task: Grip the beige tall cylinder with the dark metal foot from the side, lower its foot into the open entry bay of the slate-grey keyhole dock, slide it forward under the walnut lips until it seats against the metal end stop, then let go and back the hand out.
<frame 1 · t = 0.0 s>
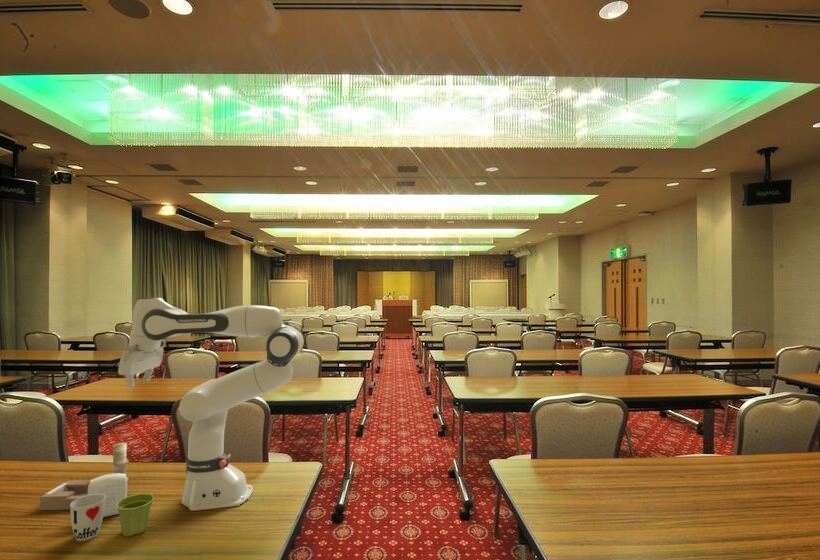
hand: (138, 383, 145), 39 cm above the table, tool pointing down, fingers open, 8 cm apart
beige tall cylinder: (118, 483, 155), on the table
plant pot: (134, 531, 124), on the table
keyhole dock: (79, 500, 142), on the table
cup: (87, 536, 121), on the table
photo printer: (106, 515, 133), on the table
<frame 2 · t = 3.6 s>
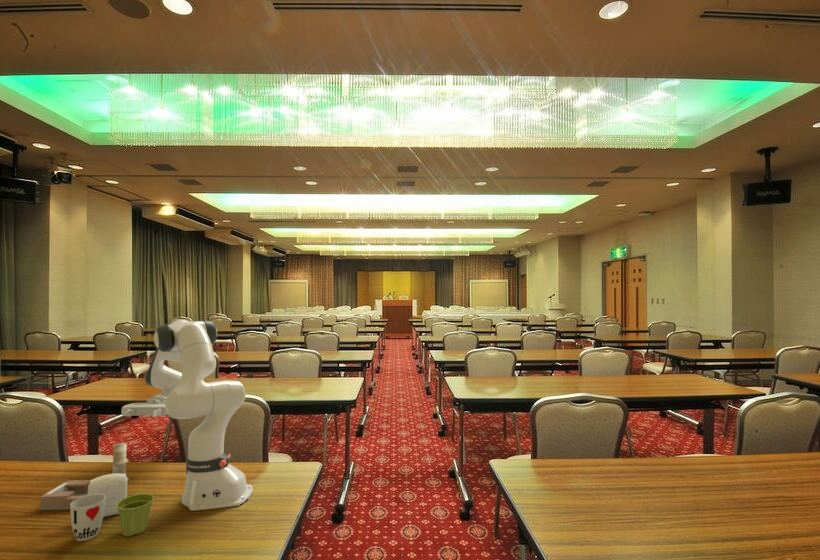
hand: (139, 414, 168), 22 cm above the table, tool horizontal, fingers open, 8 cm apart
nothing on the table moved.
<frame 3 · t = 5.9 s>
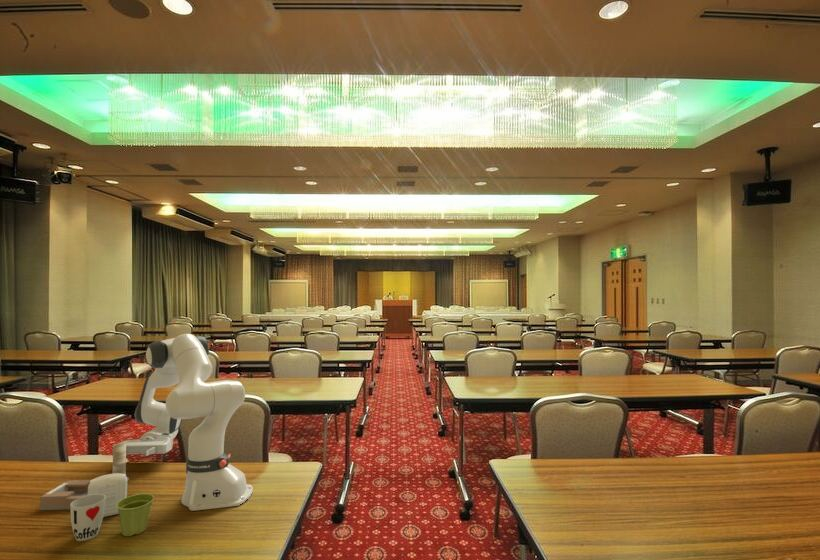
hand: (131, 454, 163), 8 cm above the table, tool horizontal, fingers open, 8 cm apart
nothing on the table moved.
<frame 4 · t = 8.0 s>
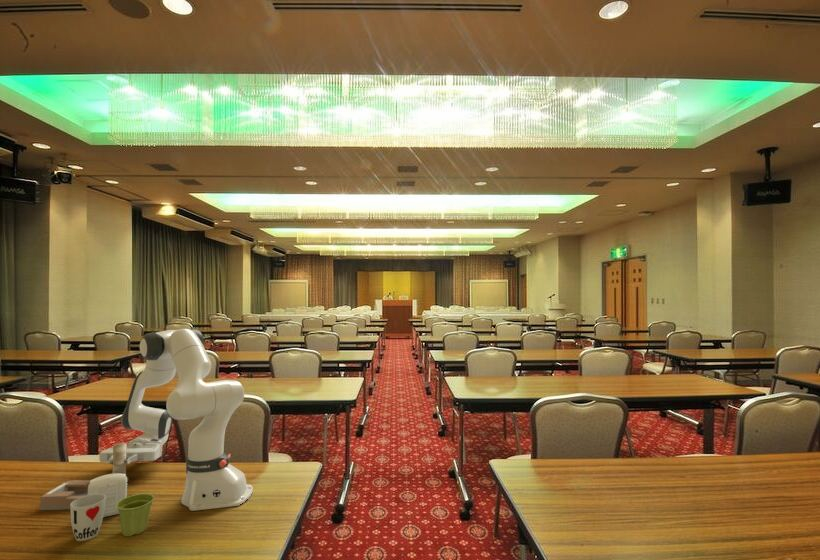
hand: (118, 461, 155), 8 cm above the table, tool horizontal, fingers closed on beige tall cylinder, 4 cm apart
beige tall cylinder: (118, 483, 155), on the table, touching gripper
everything else where it was.
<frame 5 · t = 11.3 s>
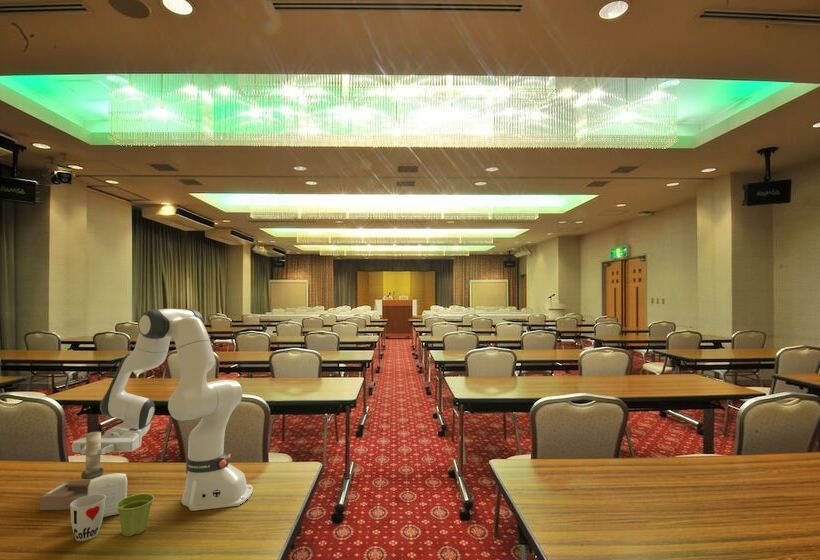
hand: (91, 452, 142), 16 cm above the table, tool horizontal, fingers closed on beige tall cylinder, 4 cm apart
beige tall cylinder: (92, 475, 143), point 8 cm above the table, touching gripper
everything else where it was.
when the fingers open (9 cm above the table, at t = 14.5 s): beige tall cylinder stays where it is, resting on keyhole dock.
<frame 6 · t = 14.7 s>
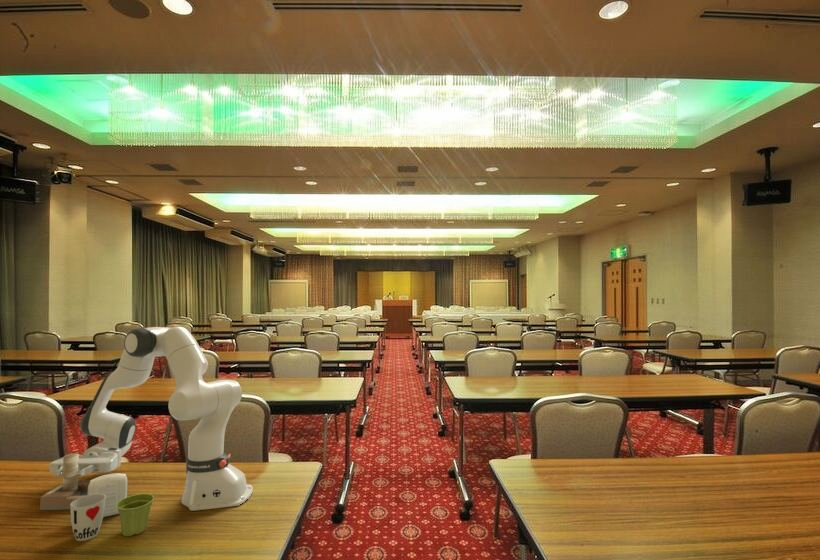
hand: (68, 473, 141), 9 cm above the table, tool horizontal, fingers open, 5 cm apart
beige tall cylinder: (69, 497, 142), point 1 cm above the table, touching keyhole dock
everything else where it was.
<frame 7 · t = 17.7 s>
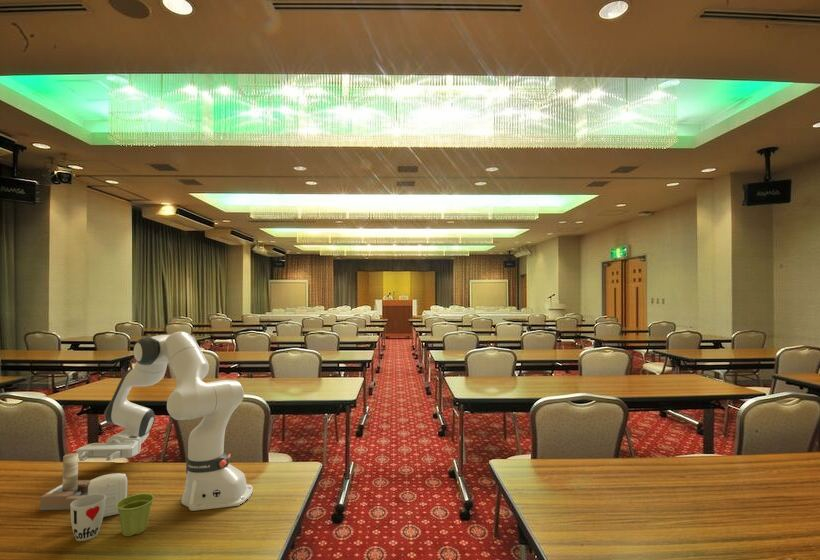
hand: (94, 458, 154), 9 cm above the table, tool horizontal, fingers open, 8 cm apart
nothing on the table moved.
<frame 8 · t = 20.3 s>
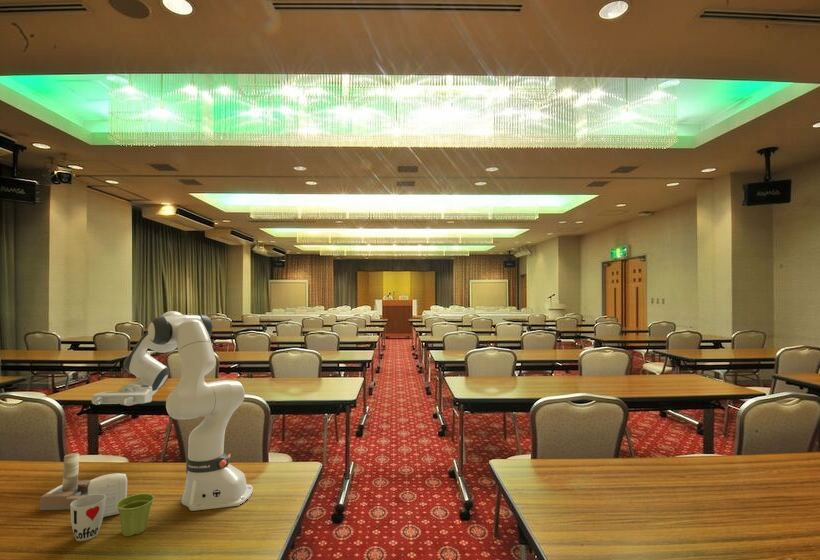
hand: (109, 402, 162), 28 cm above the table, tool horizontal, fingers open, 8 cm apart
nothing on the table moved.
at the end: beige tall cylinder 0.4 cm from the target spot on the keyhole dock, point 1.0 cm above the keyhole dock's base; beige tall cylinder tilted 1°; the gripper is holding nothing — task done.
